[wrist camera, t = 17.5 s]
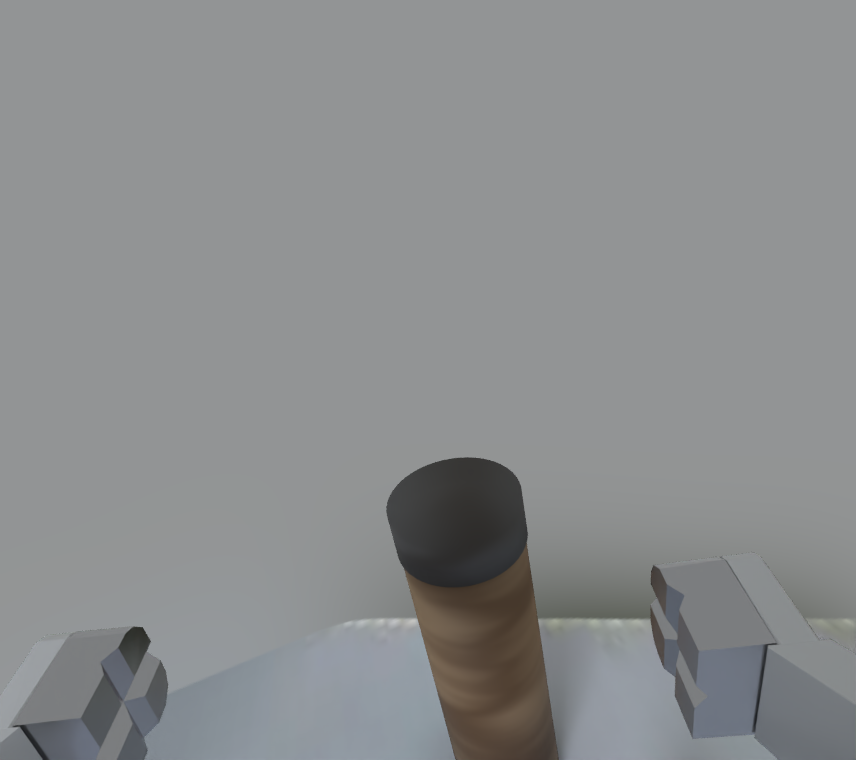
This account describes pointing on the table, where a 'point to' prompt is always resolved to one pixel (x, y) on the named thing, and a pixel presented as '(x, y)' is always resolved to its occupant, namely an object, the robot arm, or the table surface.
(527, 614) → the capped cylinder
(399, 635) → the table surface
